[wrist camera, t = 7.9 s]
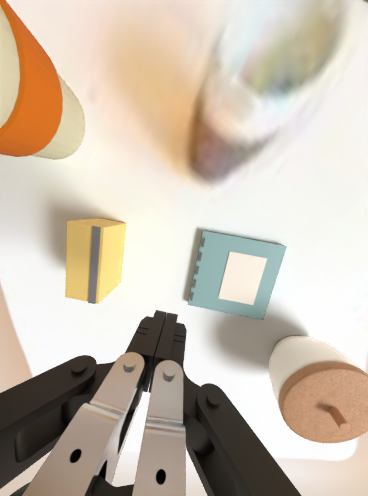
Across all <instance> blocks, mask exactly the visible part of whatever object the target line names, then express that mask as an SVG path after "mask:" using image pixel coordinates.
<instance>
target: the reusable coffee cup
mask: <svg viewBox="0 0 368 496" xmlns="http://www.w3.org/2000/svg"><path fill="white" fill-rule="evenodd" d="M84 133H85V117H84V113H83V109H82V106H81V104H80V102H79V100H78V99H77V97H76V96H75V94H74V93H73V92H72V91H71V89H70V88H69V87H68V86H67V84H66V83H65V82H64V81H63V79H62V78H61V77H60V76H59V75H58V73H57V71H56V69H55V67H54V65H53V63H52V61H51V59H50V58H49V56H48V55H47V53H46V52H45V51H44V49H43V48H42V46H41V45H40V44H39V43H38V41H37V40H36V39H35V37H34V36H33V35H32V34H31V32H30V31H29V30H28V29H27V27H26V26H25V25H24V23H23V22H22V21H21V20H20V18H19V17H18V16H17V14H16V13H15V12H14V11H13V9H12V8H11V7H10V5H9V4H8V3H7V2H6V0H0V154H3V155H9V156H16V157H21V156H29V155H32V156H38V157H43V158H49V159H63V158H66V157H68V156H70V155H72V154H73V153H74V152H75V151H76V150H77V149H78V148H79V146H80V145H81V142H82V140H83V137H84Z"/></svg>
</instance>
